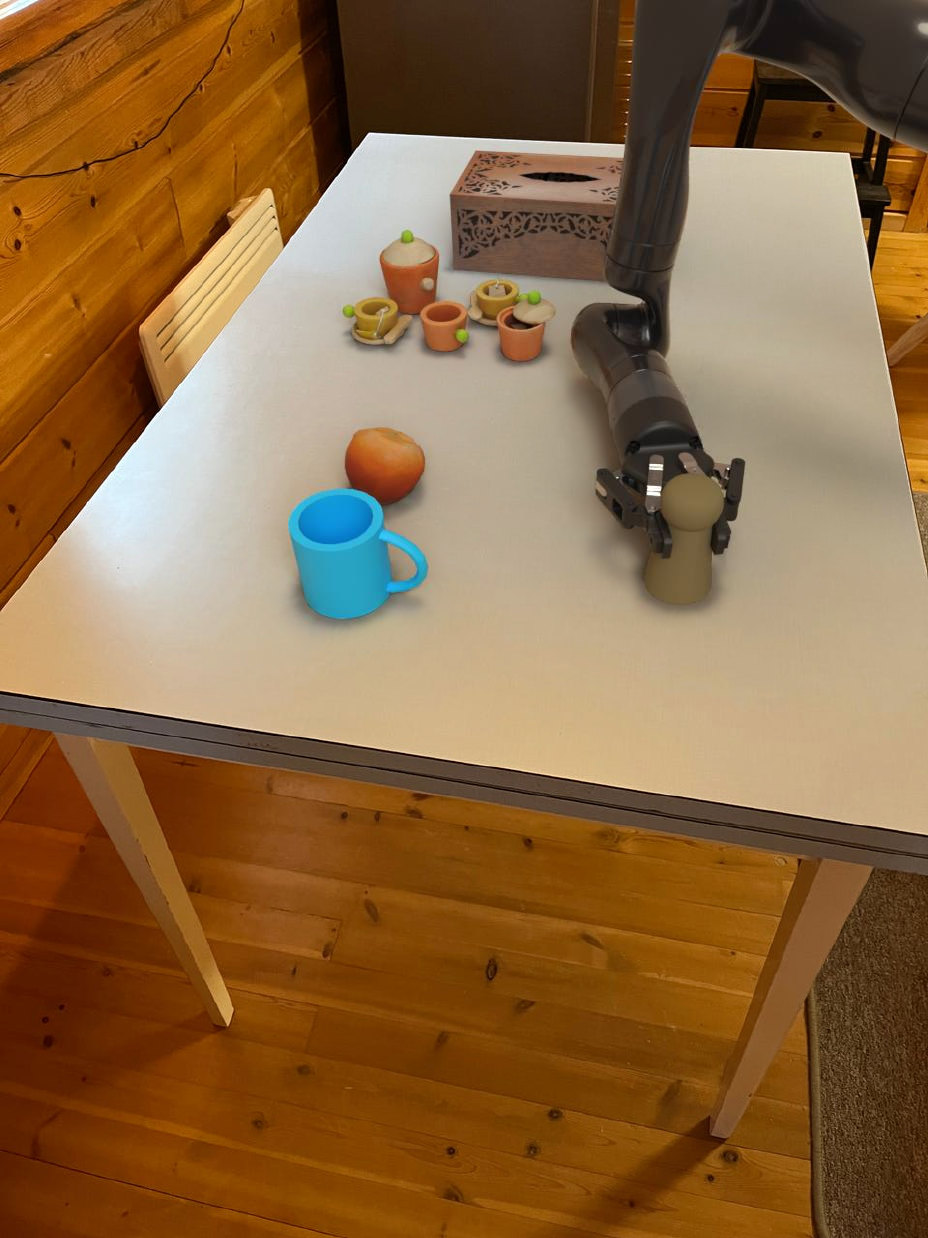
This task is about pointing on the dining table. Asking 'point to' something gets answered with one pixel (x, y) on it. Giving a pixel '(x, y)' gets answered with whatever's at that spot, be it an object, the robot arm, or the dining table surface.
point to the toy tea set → (446, 305)
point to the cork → (686, 540)
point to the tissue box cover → (534, 214)
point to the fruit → (384, 464)
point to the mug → (347, 553)
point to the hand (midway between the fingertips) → (694, 548)
